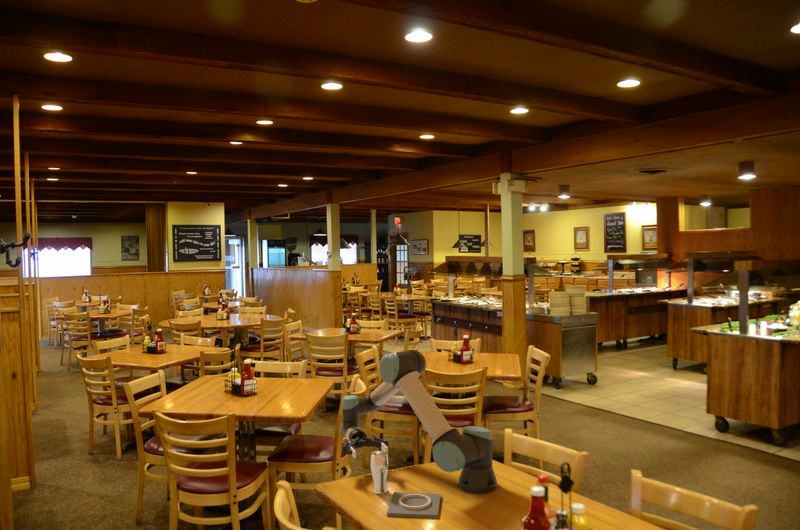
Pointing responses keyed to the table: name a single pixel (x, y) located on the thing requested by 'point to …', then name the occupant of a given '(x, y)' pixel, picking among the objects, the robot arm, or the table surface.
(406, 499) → the coaster board
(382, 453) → the beer glass
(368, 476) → the table surface
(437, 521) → the table surface
